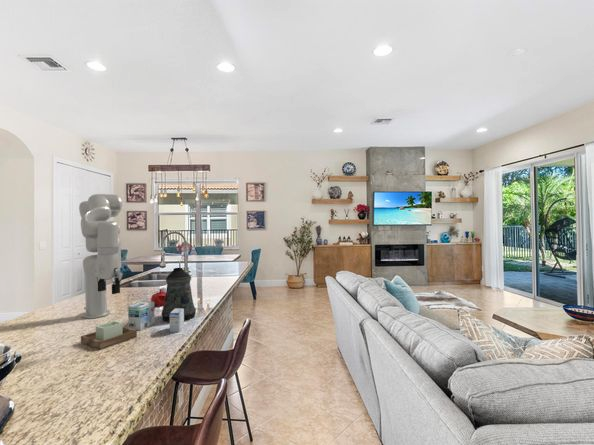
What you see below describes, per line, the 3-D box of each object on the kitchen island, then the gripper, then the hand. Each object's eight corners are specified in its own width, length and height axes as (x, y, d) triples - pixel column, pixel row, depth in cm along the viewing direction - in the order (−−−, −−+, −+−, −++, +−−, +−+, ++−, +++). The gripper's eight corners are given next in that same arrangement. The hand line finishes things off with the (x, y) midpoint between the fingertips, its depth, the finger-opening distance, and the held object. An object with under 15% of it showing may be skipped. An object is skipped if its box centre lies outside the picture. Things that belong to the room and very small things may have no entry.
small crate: (95, 340, 138) (95, 326, 137) (114, 334, 144) (114, 320, 144) (103, 343, 135) (103, 328, 135) (122, 336, 142) (122, 322, 142)
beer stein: (177, 324, 160) (176, 272, 159) (150, 318, 169) (149, 269, 169) (202, 315, 174) (202, 267, 174) (176, 310, 183) (176, 265, 183)
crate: (80, 343, 136) (80, 336, 136) (117, 331, 150) (117, 325, 150) (100, 349, 130) (100, 342, 129) (136, 337, 143) (136, 330, 143)
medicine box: (174, 326, 157) (174, 308, 156) (184, 326, 157) (184, 308, 157) (169, 332, 149) (169, 313, 149) (179, 332, 149) (179, 312, 149)
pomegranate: (147, 306, 193) (146, 290, 192) (159, 302, 202) (159, 286, 202) (160, 307, 189) (160, 291, 189) (173, 303, 199) (172, 287, 198)
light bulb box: (140, 330, 151) (140, 307, 151) (127, 329, 153) (127, 306, 153) (155, 323, 162) (155, 301, 162) (143, 322, 163) (142, 300, 163)
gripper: (87, 251, 140) (87, 291, 140) (111, 253, 132) (112, 296, 132) (104, 249, 147) (105, 288, 147) (129, 251, 138) (130, 292, 138)
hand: (108, 292), depth 139 cm, fingers open, 9 cm apart
